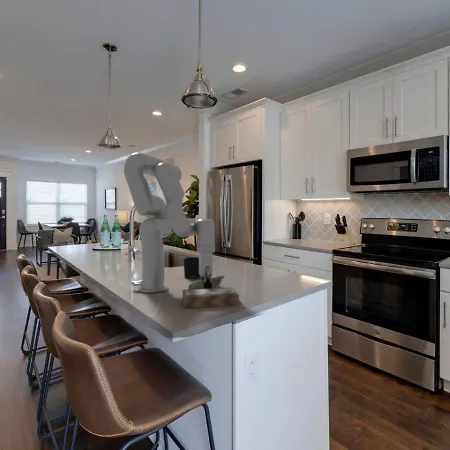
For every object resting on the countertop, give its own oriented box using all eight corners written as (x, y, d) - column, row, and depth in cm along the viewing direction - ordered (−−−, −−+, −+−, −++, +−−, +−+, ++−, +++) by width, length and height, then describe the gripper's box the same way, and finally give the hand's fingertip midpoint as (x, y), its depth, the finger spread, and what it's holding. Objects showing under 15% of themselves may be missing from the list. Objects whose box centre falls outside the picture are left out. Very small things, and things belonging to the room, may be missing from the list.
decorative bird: (186, 294, 130) (186, 276, 130) (222, 290, 136) (222, 273, 136) (190, 297, 125) (190, 279, 125) (227, 293, 131) (227, 276, 131)
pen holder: (180, 278, 161) (180, 259, 160) (190, 275, 169) (190, 256, 169) (195, 280, 157) (195, 260, 156) (205, 276, 165) (205, 257, 164)
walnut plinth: (183, 308, 111) (183, 296, 111) (182, 299, 122) (182, 289, 122) (238, 305, 114) (238, 294, 114) (232, 297, 125) (232, 286, 125)
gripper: (195, 246, 138) (195, 285, 139) (198, 251, 121) (199, 295, 122) (212, 246, 139) (212, 284, 140) (217, 250, 122) (218, 293, 123)
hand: (206, 289), depth 131 cm, fingers open, 9 cm apart
